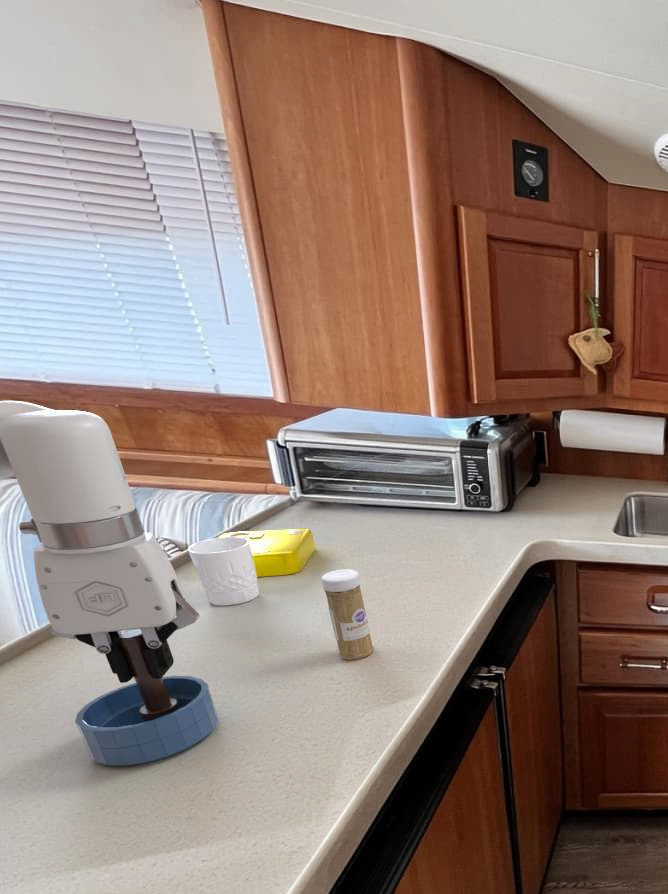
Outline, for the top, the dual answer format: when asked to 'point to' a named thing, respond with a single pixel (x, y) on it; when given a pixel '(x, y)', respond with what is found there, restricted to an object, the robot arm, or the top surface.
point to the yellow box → (278, 550)
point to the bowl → (146, 723)
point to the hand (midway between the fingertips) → (146, 673)
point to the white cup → (225, 570)
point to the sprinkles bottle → (347, 613)
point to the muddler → (146, 678)
